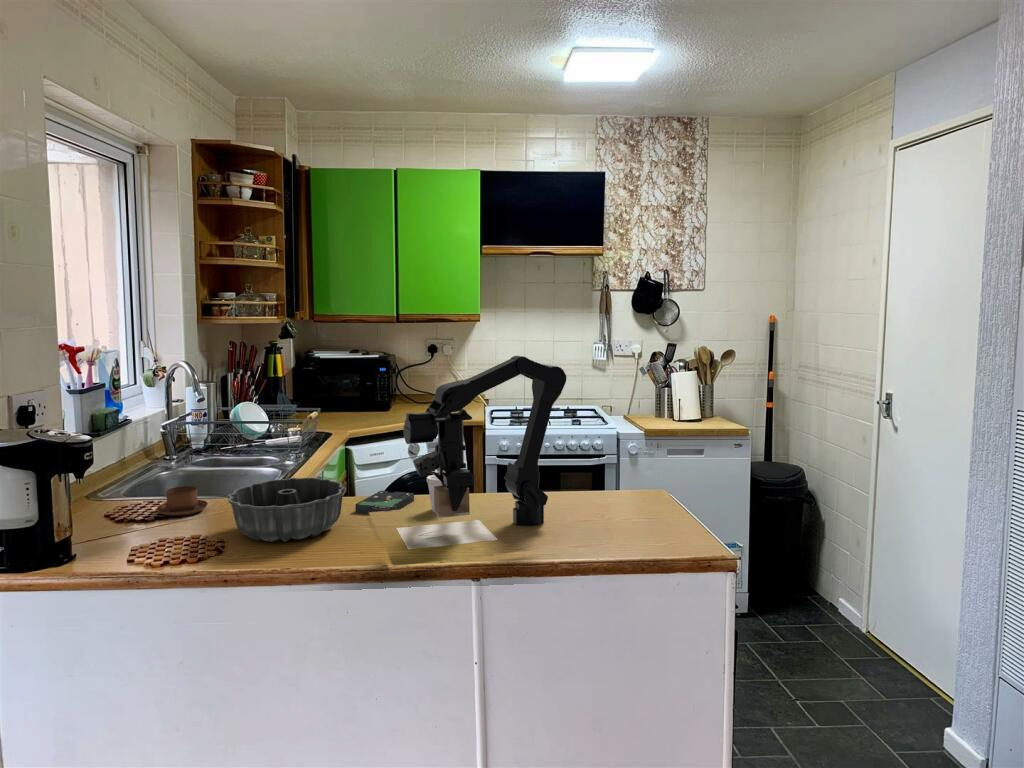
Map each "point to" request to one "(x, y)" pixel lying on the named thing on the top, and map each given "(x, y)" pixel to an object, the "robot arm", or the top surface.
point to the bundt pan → (287, 508)
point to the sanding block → (449, 503)
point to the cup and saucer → (182, 502)
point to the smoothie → (432, 488)
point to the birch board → (445, 534)
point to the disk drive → (384, 502)
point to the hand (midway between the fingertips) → (452, 507)
